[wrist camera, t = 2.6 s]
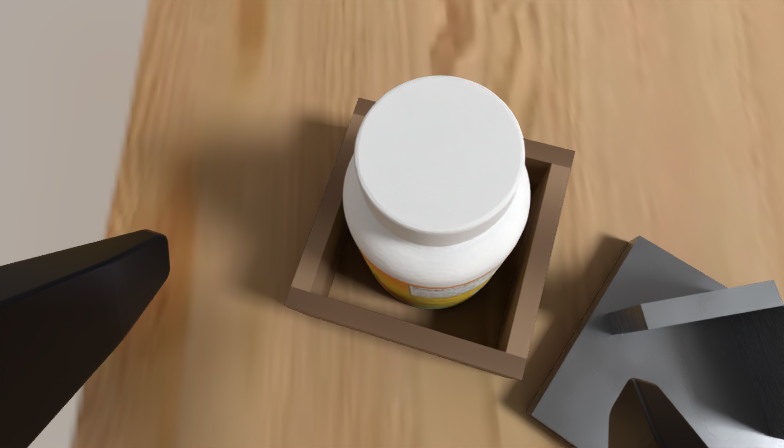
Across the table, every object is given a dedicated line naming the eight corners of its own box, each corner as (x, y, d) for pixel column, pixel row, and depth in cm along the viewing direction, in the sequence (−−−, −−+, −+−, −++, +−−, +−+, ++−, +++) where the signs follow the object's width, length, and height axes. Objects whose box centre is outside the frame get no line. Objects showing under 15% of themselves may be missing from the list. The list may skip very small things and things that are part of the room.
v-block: (728, 556, 17) (816, 610, 13) (526, 412, 19) (552, 424, 15) (824, 358, 19) (928, 357, 15) (629, 241, 20) (677, 212, 16)
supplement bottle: (359, 196, 22) (309, 68, 12) (482, 175, 22) (527, 30, 12) (377, 321, 20) (337, 283, 11) (510, 299, 20) (585, 242, 11)
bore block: (507, 377, 19) (522, 380, 16) (303, 313, 20) (284, 305, 17) (554, 180, 21) (575, 151, 18) (366, 132, 22) (358, 97, 20)
